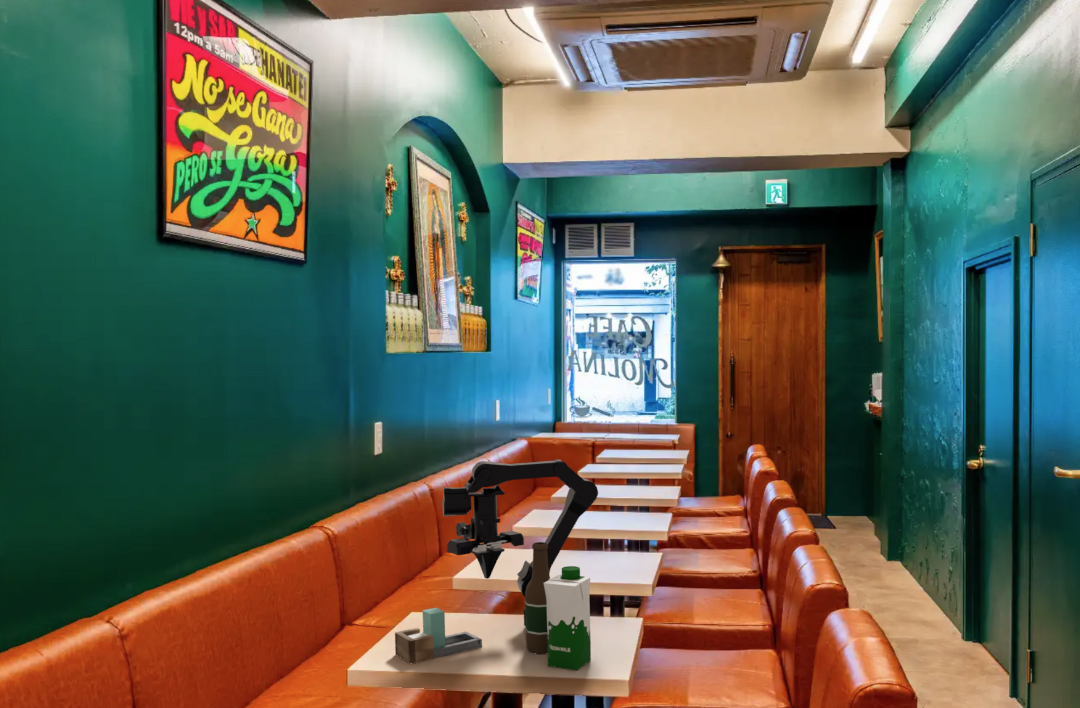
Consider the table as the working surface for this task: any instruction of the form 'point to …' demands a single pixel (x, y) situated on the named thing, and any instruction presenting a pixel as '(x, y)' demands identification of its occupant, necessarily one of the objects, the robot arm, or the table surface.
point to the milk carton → (568, 619)
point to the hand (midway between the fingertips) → (487, 578)
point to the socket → (413, 646)
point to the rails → (458, 644)
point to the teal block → (433, 626)
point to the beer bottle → (537, 602)
